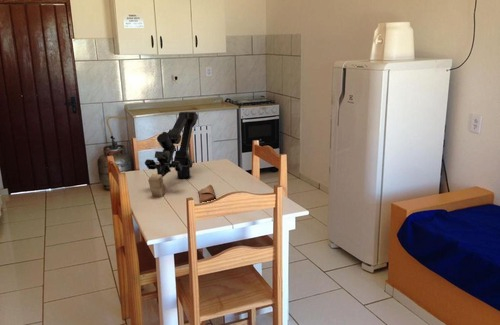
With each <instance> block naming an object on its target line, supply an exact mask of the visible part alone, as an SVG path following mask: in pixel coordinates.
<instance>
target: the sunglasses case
mask: <svg viewBox="0 0 500 325" xmlns="http://www.w3.org/2000/svg"><path fill="white" fill-rule="evenodd" d="M197 193H198V199H199V200H198V201H199V204H202V202H207V201H211V200H214V199H216V200H217V196H216V192H215V189H214V186H213V185H212V184H209V185H207V186H206V187H204V188H203V189H200V190H198V191H197Z"/></svg>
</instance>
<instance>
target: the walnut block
mask: <svg viewBox="0 0 500 325" xmlns="http://www.w3.org/2000/svg"><path fill="white" fill-rule="evenodd" d="M163 178H164V177H162V175H160V174H156V173H152V174H151V175H150V176H149V178H148V179H147V180H148V184H149V188H150V191H151V195H152V197H158V198H159V197H160V198H162V197H163V195H165V193H166V191H167V190H166V187H165V186H166V185H165V182H164V179H163Z"/></svg>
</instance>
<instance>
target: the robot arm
mask: <svg viewBox="0 0 500 325" xmlns="http://www.w3.org/2000/svg"><path fill="white" fill-rule="evenodd" d="M198 119H199V115H198V113H197V112H196V111H181V112H179V113H178V117H177V119H176V121H175V123H174V125H173V127H172V128H171V129H169V130H168V131H162V133H160V134H159V135H158V136H157V137H156V140H157V142H158V144H159V146H160V147H161V148H162V151H156V150H155V153H154V158H155V159H156V161H155V160H154V159H145V161H144V164H145V166H146V168H147V169H148V170H156V172H157V174H160V175H162V178H164V177H165V176H166V175H167V174H169V173H171V172H172V171H171V170H172V169H173V168H174V170H175V171H176V174H177V179H179V180H182V179H183V180H185V179H187V180H188V179H191V168H193V161H192V159H191V155H190V153H189V150H190V142H191V138H192V133H193V128H194V127H195V126H196V124H197V122H198ZM181 133H182V134H181ZM179 144H180V146H179V149H178V150H177V148H176V145H179ZM174 154H175V155H174ZM173 156H174V158H173Z"/></svg>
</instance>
